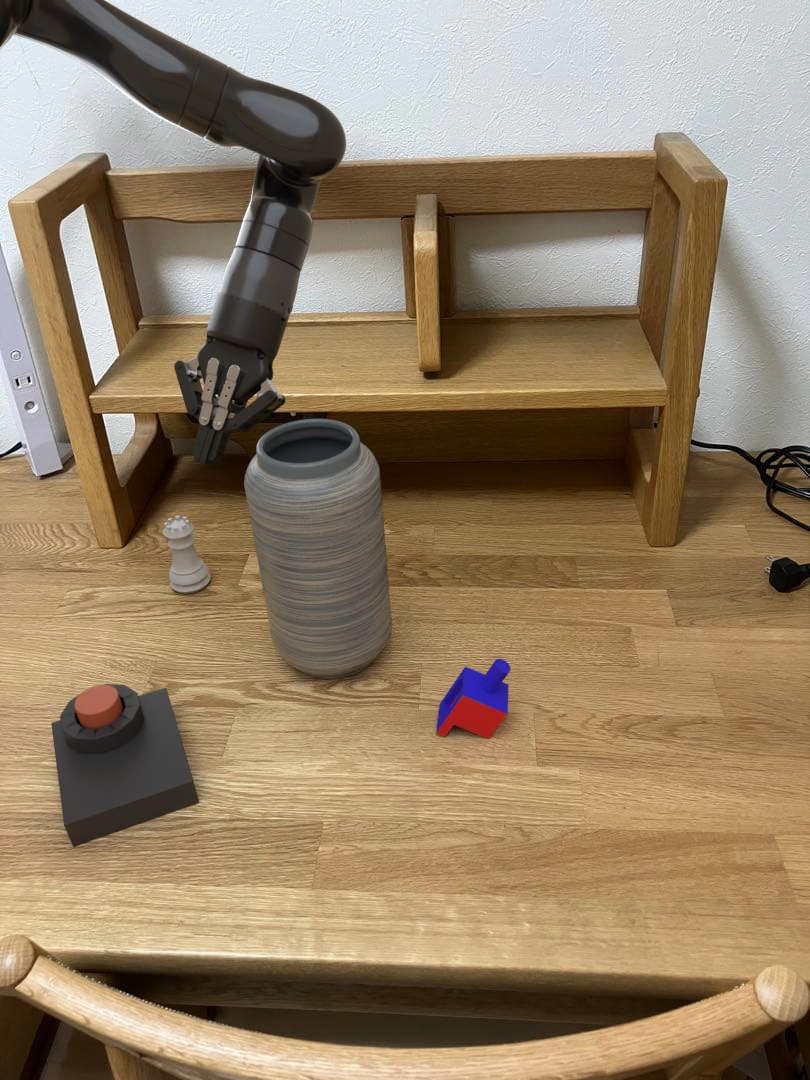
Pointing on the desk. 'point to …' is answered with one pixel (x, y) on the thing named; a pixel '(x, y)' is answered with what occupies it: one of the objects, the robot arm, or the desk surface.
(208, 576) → the rook chess piece
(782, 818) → the desk surface
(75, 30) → the robot arm
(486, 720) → the toy building block
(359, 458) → the vase
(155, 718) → the button box
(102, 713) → the button
